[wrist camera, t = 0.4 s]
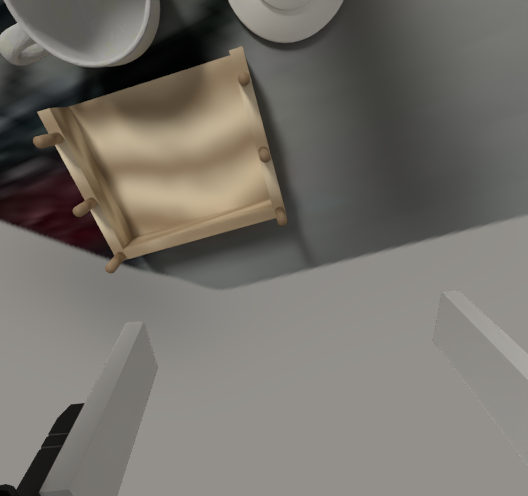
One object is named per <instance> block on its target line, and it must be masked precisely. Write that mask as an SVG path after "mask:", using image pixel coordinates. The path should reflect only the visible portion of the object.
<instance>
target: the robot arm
mask: <svg viewBox="0 0 528 496" xmlns="http://www.w3.org/2000/svg"><path fill="white" fill-rule="evenodd" d="M433 341H434V343H435V344H436V345H437V346H438V348H439V349H440V351H441V352H442V353H443V355H444V356H445V357H446V359H447V360H448V361H449V362H450V364H451V365H452V366H453V368H454V369H455V371H456V372H457V373H458V374H459V376H460V377H461V378H462V380H463V381H464V382H465V384H466V385H467V387H468V388H469V389H470V391H471V392H472V393H473V395H474V396H475V397H476V399H478V401H479V402H480V404H481V405H482V406H483V408H484V409H485V411H486V412H487V413H488V415H489V416H490V417H491V419H492V420H493V421H494V423H495V424H496V425H497V426H498V428H499V429H500V431H501V432H502V433H503V435H504V436H505V437H506V439H507V440H508V441H509V443H510V444H511V445H512V447H513V448H514V449H515V451H516V452H517V453H518V455H519V456H520V457H521V458H522V460H523V461H524V463H525V464H526V465H527V466H528V354H527V353H526V352H525V351H524V350H523V349H521V348H520V347H519V346H518V345H517V344H516V343H515V342H514V341H513V340H512V339H511V338H510V337H509V336H508V335H506V334H505V333H504V332H503V331H502V330H501V329H500V328H499V327H498V326H497V325H496V324H495V323H494V322H492V320H491V319H489V318H488V317H487V316H486V315H485V314H484V313H483V312H482V311H481V310H480V309H479V308H478V307H477V306H475V305H474V304H473V303H472V302H471V301H470V300H469V299H468V298H467V297H466V296H465V295H463V293H462V292H461V291H459V290H456V291H446V292H442V295H441V300H440V305H439V310H438V315H437V320H436V326H435V331H434V337H433ZM157 369H158V365H157V362H156V359H155V356H154V352H153V349H152V346H151V343H150V339H149V336H148V333H147V330H146V327H145V323H144V321H139V322H129V323H126V324H125V326H124V328H123V330H122V332H121V334H120V336H119V338H118V340H117V342H116V344H115V346H114V348H113V350H112V351H111V353H110V355H109V357H108V360H107V361H106V363H105V365H104V367H103V369H102V371H101V373H100V375H99V377H98V379H97V381H96V383H95V385H94V386H93V388H92V390H91V392H90V394H89V396H88V398H87V400H86V402H85V403H81V404H72V405H70V406H69V407H68V408H67V409H66V410H65V411H64V412H63V413H62V414H61V415H60V416H59V417H58V418H57V420H56V422H55V424H54V425H53V427H52V429H51V431H50V432H49V436H48V437H46V439H45V441H44V443H43V444H42V446H41V450H39V452H38V453H37V455H36V457H35V458H34V460H33V462H32V463H31V466H30V467H29V469H28V470H27V472H26V474H25V476H24V477H23V479H22V481H21V483H20V484H19V486H18V488H17V489H15V488H14V486H10V485H7V484H5V485H0V496H117V495H118V492H119V489H120V486H121V483H122V479H123V477H124V473H125V470H126V467H127V464H128V461H129V458H130V454H131V451H132V448H133V445H134V442H135V438H136V435H137V432H138V429H139V425H140V423H141V420H142V417H143V413H144V410H145V407H146V404H147V400H148V398H149V394H150V391H151V388H152V385H153V382H154V378H155V376H156V372H157Z"/></svg>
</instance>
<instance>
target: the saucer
mask: <svg viewBox="0 0 528 496" xmlns="http://www.w3.org/2000/svg"><path fill="white" fill-rule="evenodd" d="M228 1H229V3H230V6H231V7H232V9H233V11H234V13H235V14H236V16H237V17H238V18H239V20H240V21H241V22H242V23H243V24H244V25H245V26H246V27H247V28H248V29H249V30H250V31H252V32H253V33H254V34H256V35H258V36H259V37H261V38H263V39H266V40H268V41H272V42H276V43H293V42H297V41H301V40H304V39H306V38H308V37H310V36H312V35H314V34H315V33H317V32H318V31H319V30H321V29H322V28H323V27H324V26H325V25H326V24H327V23H328V22H329V21H330V20H331V19H332V18H333V16H334V15H335V14H336V13H337V11H338V9H339V8H340V6H341V4H342V3H343V0H228Z"/></svg>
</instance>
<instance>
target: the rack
mask: <svg viewBox="0 0 528 496" xmlns="http://www.w3.org/2000/svg"><path fill="white" fill-rule="evenodd" d="M229 52H230V56H227V57H224V58H221V59H217V60H214V61H211V62H208V63H205V64H202V65H199V66H196V67H192V68H189V69H186V70H183V71H180V72H177V73H174V74H170V75H167V76H164V77H161V78H158V79H155V80H152V81H149V82H145V83H142V84H139V85H136V86H133V87H130V88H127V89H123V90H120V91H117V92H114V93H111V94H108V95H105V96H101V97H98V98H95V99H92V100H89V101H86V102H83V103H80V104H76V105H73V106H70V107H60V108H48V109H45V110H42V111H39V112H37V113H38V115H39V116H40V118H41V120H42V122H43V124H44V126H45V128H46V129H47V131H48V133H49V134H46V135H40V136H36V137H34V139H33V142H34V144H35V146H36V147H38V148H45V147H49V146H53V145H55V146H56V148H57V150H58V152H59V153H60V155H61V157H62V159H63V161H64V163H65V165H66V166H67V168H68V170H69V172H70V174H71V176H72V178H73V179H74V181H75V183H76V185H77V187H78V189H79V190H80V192H81V194H82V196H83V198H84V200H85V201H84V202H82V203H81V204H79V205H78V206H76V207H74V208H73V213H74V215H75V216H77V217H82V216H83V215H85V214H86V213H87V212H89V211H91V213H92V215H93V216H94V218H95V220H96V222H97V224H98V226H99V227H100V229H101V231H102V233H103V235H104V237H105V239H106V240H107V242H108V244H109V246H110V248H111V250H112V252H113V253H114V255H115V256H114V257H113V258H112V259H111V261H110V262H109V263H108V264H107V266H106V267H105V269H106V271H107V272H108V273H114V272H115V271H116V269H117V268H118V267H119V265H120V264H121V263H122V261H123V260H127V259H130V258H134V257H137V256H141V255H145V254H148V253H152V252H155V251H159V250H163V249H166V248H170V247H173V246H177V245H181V244H184V243H188V242H191V241H195V240H199V239H202V238H206V237H209V236H213V235H217V234H220V233H224V232H227V231H231V230H235V229H238V228H242V227H245V226H249V225H253V224H256V223H260V222H263V221H267V220H271V219H274V218H277V222H278V224H279V225H280V226H285V225H286V224H287V222H288V220H287V217H286V211H285V207H284V204H283V200H282V196H281V192H280V188H279V184H278V181H277V177H276V173H275V169H274V165H273V161H272V158H271V154H270V150H269V146H268V142H267V139H266V135H265V131H264V127H263V123H262V119H261V116H260V112H259V108H258V104H257V100H256V96H255V93H254V89H253V85H252V81H251V77H250V74H249V70H248V66H247V62H246V58H245V54H244V51H243V47H239V48H236V49H233V50H229Z"/></svg>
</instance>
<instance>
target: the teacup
mask: <svg viewBox="0 0 528 496" xmlns="http://www.w3.org/2000/svg"><path fill="white" fill-rule="evenodd" d="M4 2H5V3H6V5H7V7H8V9H9V10H10V12H11V14H12V15H13V17H14V18H15V20H16V21H17V24H15V25H13V26H11V27H10V28H8V29H6V30H5V31H4V32H3V33H2V34H1V35H0V53H1V54H2V55H3V56H4V57H5V58H6V59H7V60H8V61H9V62H10V63H12V64H14V65H27V64H30V63H33V62H35V61H37V60H39V59H41V58H43V57H45V56H47V55H48V54H52V55H54V56H55V57H57V58H59V59H61V60H63V61H65V62H67V63H70V64H74V65H77V66H81V67H90V68H95V67H111V66H119V65H123V64H127V63H129V62H131V61H133V60H135V59H137V58H138V57H140V56H141V55H142V54H143V53H144V52H145V51H146V50H147V49H148V47H149V46H150V45H151V43H152V41H153V39H154V37H155V35H156V32H157V29H158V25H159V18H160V0H4Z"/></svg>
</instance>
